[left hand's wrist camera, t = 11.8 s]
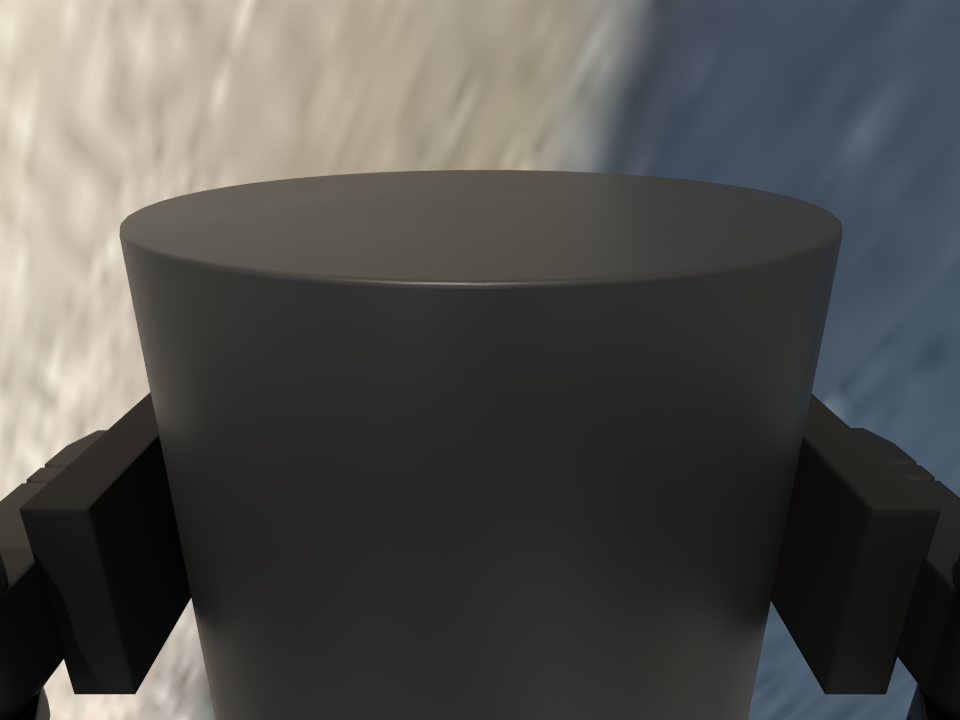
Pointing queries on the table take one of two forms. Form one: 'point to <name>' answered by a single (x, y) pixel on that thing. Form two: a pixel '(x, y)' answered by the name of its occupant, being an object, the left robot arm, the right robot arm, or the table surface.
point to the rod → (481, 436)
